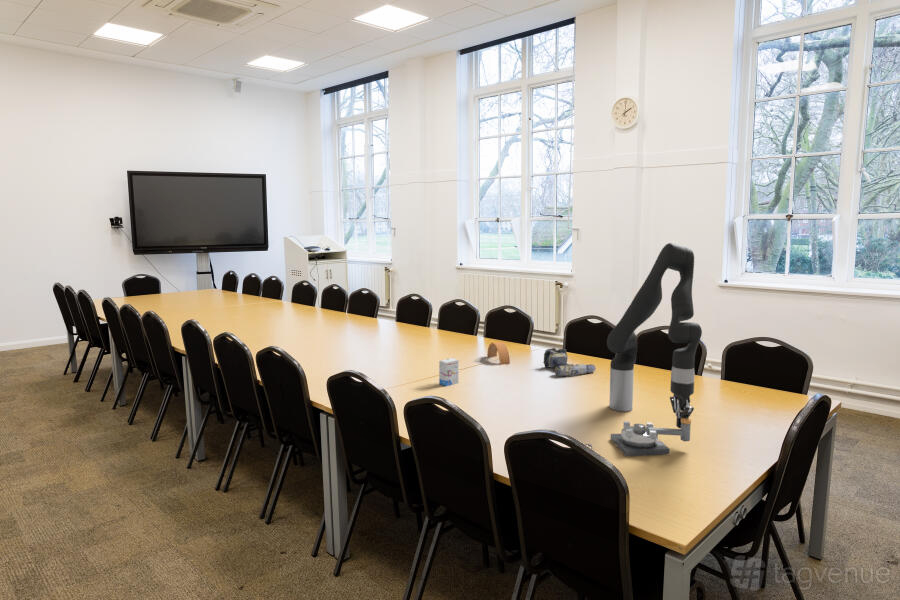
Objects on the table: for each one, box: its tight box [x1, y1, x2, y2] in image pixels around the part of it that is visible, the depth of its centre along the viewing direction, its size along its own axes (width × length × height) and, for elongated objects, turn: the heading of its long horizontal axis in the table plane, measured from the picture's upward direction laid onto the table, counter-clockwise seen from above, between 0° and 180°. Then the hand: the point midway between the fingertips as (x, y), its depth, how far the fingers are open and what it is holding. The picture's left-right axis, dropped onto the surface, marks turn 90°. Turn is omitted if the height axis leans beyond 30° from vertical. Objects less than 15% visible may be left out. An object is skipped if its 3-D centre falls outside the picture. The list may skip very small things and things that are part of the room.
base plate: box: [610, 433, 671, 457], centre depth 201 cm, size 15×15×2 cm
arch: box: [487, 341, 511, 366], centre depth 324 cm, size 6×20×10 cm, turn 16°
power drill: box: [543, 347, 596, 378], centre depth 300 cm, size 22×23×11 cm
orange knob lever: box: [620, 417, 692, 447], centre depth 199 cm, size 23×12×8 cm, turn 79°
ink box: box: [438, 357, 460, 387], centre depth 280 cm, size 9×5×12 cm, turn 131°
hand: (680, 427), depth 202 cm, fingers closed
